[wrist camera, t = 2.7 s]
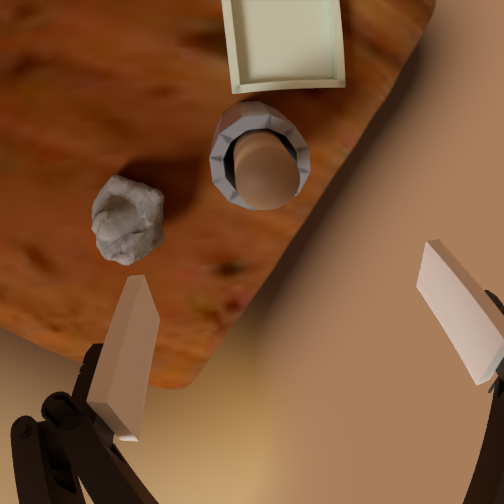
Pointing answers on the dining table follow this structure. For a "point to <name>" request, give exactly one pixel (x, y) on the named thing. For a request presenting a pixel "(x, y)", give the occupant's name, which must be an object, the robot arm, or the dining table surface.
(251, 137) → the walnut dowel
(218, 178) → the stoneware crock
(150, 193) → the fossil
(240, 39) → the sage tray
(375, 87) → the dining table surface
